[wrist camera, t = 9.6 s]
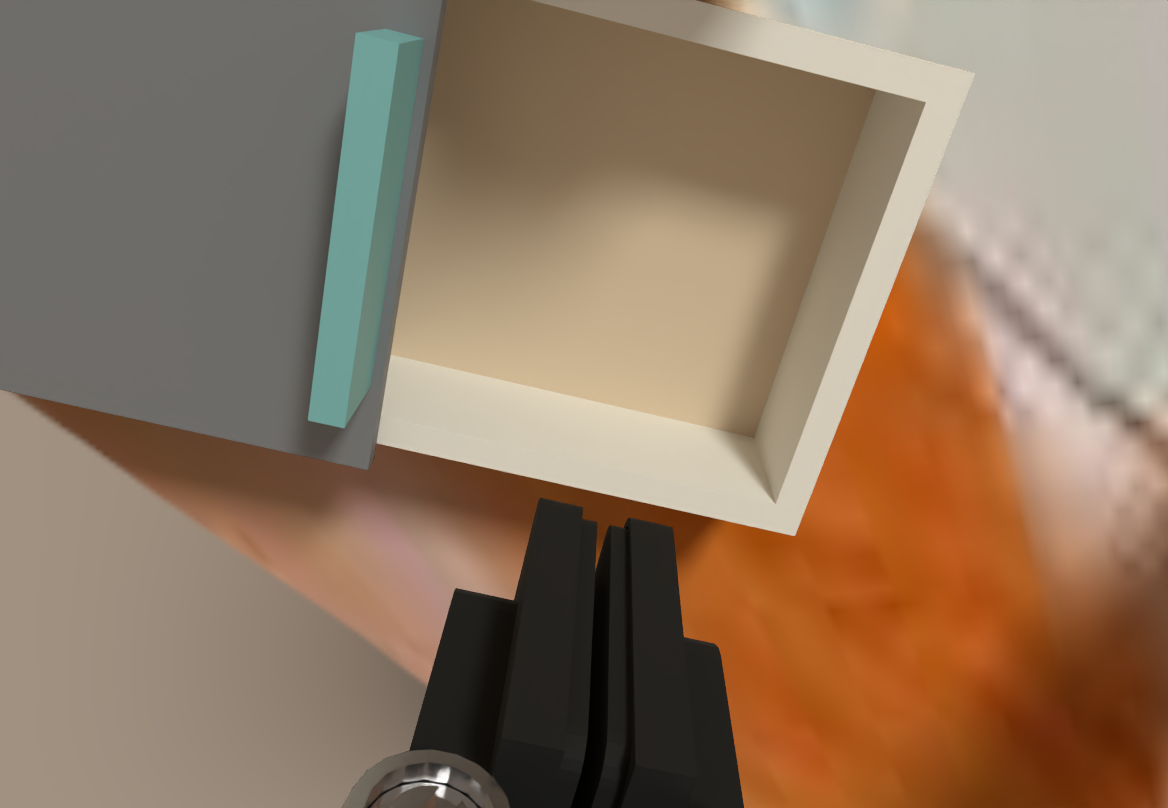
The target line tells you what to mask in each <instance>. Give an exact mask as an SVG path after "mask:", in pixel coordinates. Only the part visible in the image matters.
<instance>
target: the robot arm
mask: <svg viewBox="0 0 1168 808" xmlns="http://www.w3.org/2000/svg"><path fill="white" fill-rule="evenodd" d="M582 514H583V508H582V507H579V506H575V505H570V504H566V503H561V502H557V501H552V500H548V499H543V498H540V499H539V502H538V506H537V509H536V513H535V517H534V522H533V526H532V530H531V534H530V538H529V542H528V546H527V550H526V554H525V558H524V562H523V566H522V570H521V574H520V578H519V582H518V586H517V590H516V595H515V599H514V601H513V600H508V599H504V598H499V597H494V596H490V595H485V594H481V593H476V592H471V591H467V590H462V589H457V588H456V589H455V591H454V594H453V598H452V601H451V605H450V608H449V612H448V615H447V619H446V622H445V626H444V629H443V633H442V637H441V640H440V644H439V647H438V651H437V654H436V658H435V661H434V665H433V669H432V672H431V676H430V679H429V683H428V686H427V690H426V694H425V697H424V701H423V704H422V708H421V711H420V715H419V718H418V722H417V726H416V730H415V733H414V736H413V740H412V743H411V747H410V750H409V751H406V752H403V753H400V754H397V755H393V756H390V757H387V758H385V759H383V760H382V761H380V762H379V763H377V764H376V765H374V766H373V767H371V768H370V769H368V770H367V771H366V772H365V773H364V774H363V776H362V777H361V778H360V779H359V781H358V782H357V783H356V784H355V786H354V787H353V788H352V790H351V792H350V794H349V795H348V797H347V799H346V801H345V803H344V804H343V806H342V808H744V804H743V798H742V791H741V785H740V778H739V772H738V765H737V759H736V752H735V745H734V739H733V732H732V726H731V719H730V713H729V706H728V700H727V693H726V687H725V680H724V673H723V667H722V660H721V655H720V651H719V648H718V647H717V646H716V645H715V644H713V643H708V642H704V641H699V640H694V639H690V638H685V637H684V635H683V625H682V615H681V605H680V595H679V585H678V575H677V565H676V555H675V545H674V534H673V529H672V527H669V526H665V525H660V524H656V523H651V522H647V521H642V520H638V519H633V518H628V519H627V521H626V523H625V526H624V528H620V527H616V526H611V525H610V526H609V528H608V530H607V533H606V536H605V539H604V543H603V546H602V550H601V553H600V557H599V560H598V564H597V567H596V571H595V563H596V540H597V522H593V521H589V520H584V519H582Z"/></svg>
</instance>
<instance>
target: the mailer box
mask: <svg viewBox="0 0 1168 808" xmlns="http://www.w3.org/2000/svg"><path fill="white" fill-rule="evenodd" d="M974 76H975V73H972V72H968V71H965V70H961V69H957V68H953V67H949V66H945V65H942V64H938V63H934V62H930V61H926V60H923V59H919V58H915V57H911V56H907V55H903V54H900V53H896V52H892V51H888V50H884V49H881V48H877V47H873V46H869V45H865V44H861V43H858V42H854V41H850V40H846V39H842V38H838V37H835V36H831V35H827V34H823V33H819V32H816V31H812V30H808V29H804V28H800V27H796V26H793V25H789V24H785V23H781V22H777V21H774V20H770V19H766V18H762V17H758V16H754V15H751V14H747V13H743V12H739V11H735V10H731V9H728V8H724V7H720V6H716V5H712V4H709V3H705V2H701V1H697V0H447V6H446V12H445V18H444V24H443V31H442V37H441V43H440V49H439V56H438V62H437V68H436V74H435V81H434V87H433V93H432V99H431V106H430V112H429V118H428V124H427V131H426V137H425V143H424V149H423V156H422V162H421V168H420V174H419V181H418V187H417V193H416V199H415V206H414V212H413V218H412V224H411V231H410V237H409V243H408V249H407V256H406V262H405V268H404V274H403V281H402V287H401V293H400V299H399V306H398V312H397V318H396V324H395V331H394V337H393V343H392V349H391V356H390V362H389V368H388V374H387V381H386V387H385V393H384V399H383V406H382V412H381V418H380V424H379V431H378V437H377V444H382V445H386V446H391V447H395V448H400V449H404V450H409V451H413V452H418V453H422V454H427V455H431V456H436V457H440V458H445V459H449V460H454V461H458V462H463V463H467V464H472V465H477V466H481V467H486V468H490V469H495V470H499V471H504V472H508V473H513V474H517V475H522V476H526V477H531V478H535V479H540V480H544V481H549V482H553V483H558V484H562V485H567V486H571V487H576V488H580V489H585V490H589V491H594V492H598V493H603V494H607V495H612V496H616V497H621V498H625V499H630V500H634V501H639V502H643V503H648V504H653V505H657V506H662V507H666V508H671V509H675V510H680V511H684V512H689V513H693V514H698V515H702V516H707V517H711V518H716V519H720V520H725V521H729V522H734V523H738V524H743V525H747V526H752V527H756V528H761V529H765V530H770V531H774V532H779V533H783V534H788V535H792V536H795V534H796V532H797V529H798V527H799V524H800V522H801V519H802V516H803V514H804V511H805V509H806V506H807V504H808V501H809V499H810V496H811V493H812V491H813V488H814V486H815V483H816V481H817V478H818V475H819V473H820V470H821V468H822V465H823V463H824V460H825V458H826V455H827V452H828V450H829V447H830V445H831V442H832V440H833V437H834V435H835V432H836V429H837V427H838V424H839V422H840V419H841V417H842V414H843V411H844V409H845V406H846V404H847V401H848V399H849V396H850V394H851V391H852V388H853V386H854V383H855V381H856V378H857V376H858V373H859V370H860V368H861V365H862V363H863V360H864V358H865V355H866V353H867V350H868V347H869V345H870V342H871V340H872V337H873V335H874V332H875V330H876V327H877V324H878V322H879V319H880V317H881V314H882V312H883V309H884V306H885V304H886V301H887V299H888V296H889V294H890V291H891V289H892V286H893V283H894V281H895V278H896V276H897V273H898V271H899V268H900V265H901V263H902V260H903V258H904V255H905V253H906V250H907V248H908V245H909V242H910V240H911V237H912V235H913V232H914V230H915V227H916V224H917V222H918V219H919V217H920V214H921V212H922V209H923V207H924V204H925V201H926V199H927V196H928V194H929V191H930V189H931V186H932V184H933V181H934V178H935V176H936V173H937V171H938V168H939V166H940V163H941V160H942V158H943V155H944V153H945V150H946V148H947V145H948V143H949V140H950V137H951V135H952V132H953V130H954V127H955V125H956V122H957V119H958V117H959V114H960V112H961V109H962V107H963V104H964V102H965V99H966V96H967V94H968V91H969V89H970V86H971V84H972V81H973V78H974Z"/></svg>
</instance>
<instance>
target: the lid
mask: <svg viewBox="0 0 1168 808" xmlns="http://www.w3.org/2000/svg"><path fill="white" fill-rule="evenodd" d="M446 6H447V0H0V390H4V391H9V392H13V393H18V394H23V395H27V396H32V397H36V398H41V399H45V400H50V401H55V402H59V403H64V404H68V405H73V406H77V407H82V408H86V409H91V410H96V411H100V412H105V413H109V414H114V415H118V416H123V417H127V418H132V419H137V420H141V421H146V422H150V423H155V424H159V425H164V426H168V427H173V428H178V429H182V430H187V431H191V432H196V433H200V434H205V435H209V436H214V437H219V438H223V439H228V440H232V441H237V442H241V443H246V444H250V445H255V446H260V447H264V448H269V449H273V450H278V451H282V452H287V453H292V454H296V455H301V456H305V457H310V458H314V459H319V460H323V461H328V462H333V463H337V464H342V465H346V466H351V467H355V468H360V469H364V470H368V469H369V467H370V465H371V463H372V461H373V460H374V456H375V449H376V443H377V437H378V431H379V424H380V418H381V412H382V406H383V399H384V393H385V387H386V381H387V374H388V368H389V362H390V356H391V349H392V343H393V337H394V331H395V324H396V318H397V312H398V306H399V299H400V293H401V287H402V281H403V274H404V268H405V262H406V256H407V249H408V243H409V237H410V231H411V224H412V218H413V212H414V206H415V199H416V193H417V187H418V181H419V174H420V168H421V162H422V156H423V149H424V143H425V137H426V131H427V124H428V118H429V112H430V106H431V99H432V93H433V87H434V81H435V74H436V68H437V62H438V56H439V49H440V43H441V37H442V31H443V24H444V18H445V12H446Z"/></svg>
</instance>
